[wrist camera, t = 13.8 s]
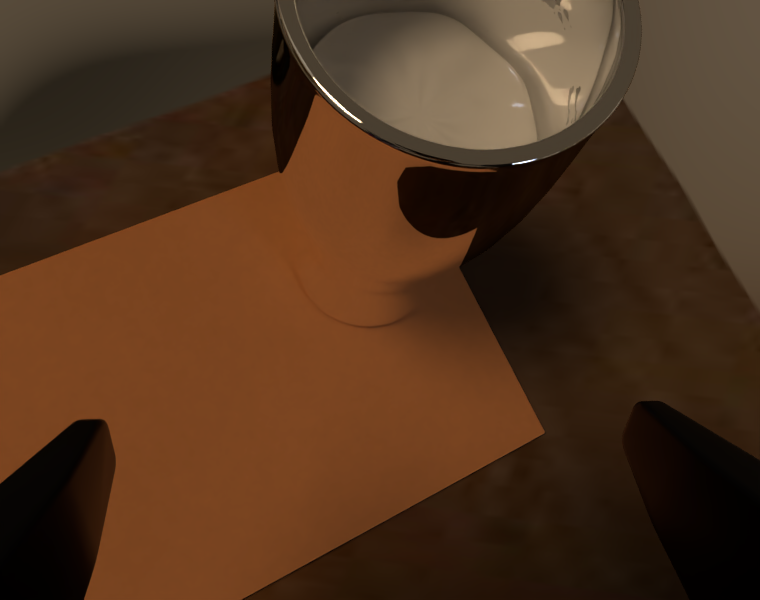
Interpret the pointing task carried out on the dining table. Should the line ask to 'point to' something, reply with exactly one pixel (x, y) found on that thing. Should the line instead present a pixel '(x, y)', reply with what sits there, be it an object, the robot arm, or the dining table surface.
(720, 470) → the robot arm
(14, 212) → the dining table surface
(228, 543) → the cloth
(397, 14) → the beer glass
